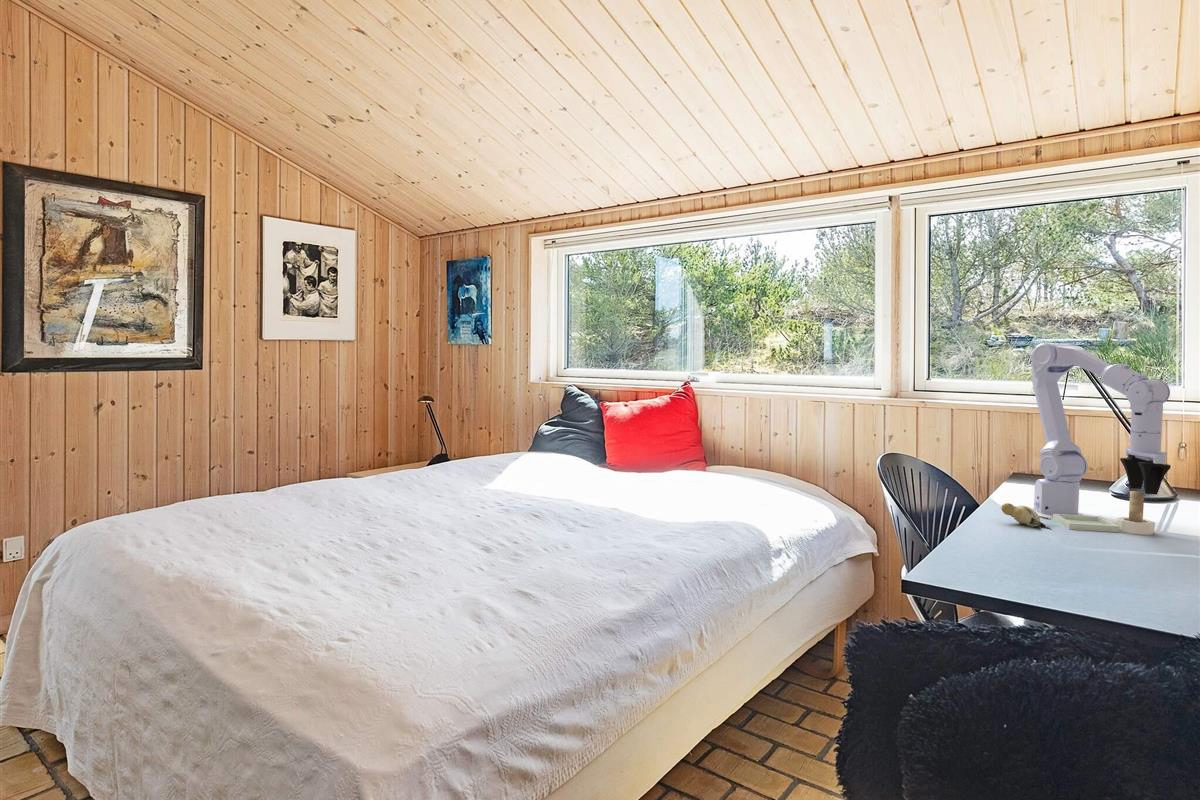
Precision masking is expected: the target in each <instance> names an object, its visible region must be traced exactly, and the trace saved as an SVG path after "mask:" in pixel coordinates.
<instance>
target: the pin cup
mask: <svg viewBox="0 0 1200 800" xmlns="http://www.w3.org/2000/svg"><path fill="white" fill-rule="evenodd" d="M1116 525H1118V526H1119V532H1123V533H1127V534H1134V535H1142V536H1143V535H1144V536H1150V535H1153V534H1155V527H1156V522H1155V521H1152V520H1150V519H1145V518H1143V523H1141V522H1131V521H1129V516H1128V517H1126V516H1122V517H1117V519H1116Z"/></svg>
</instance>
